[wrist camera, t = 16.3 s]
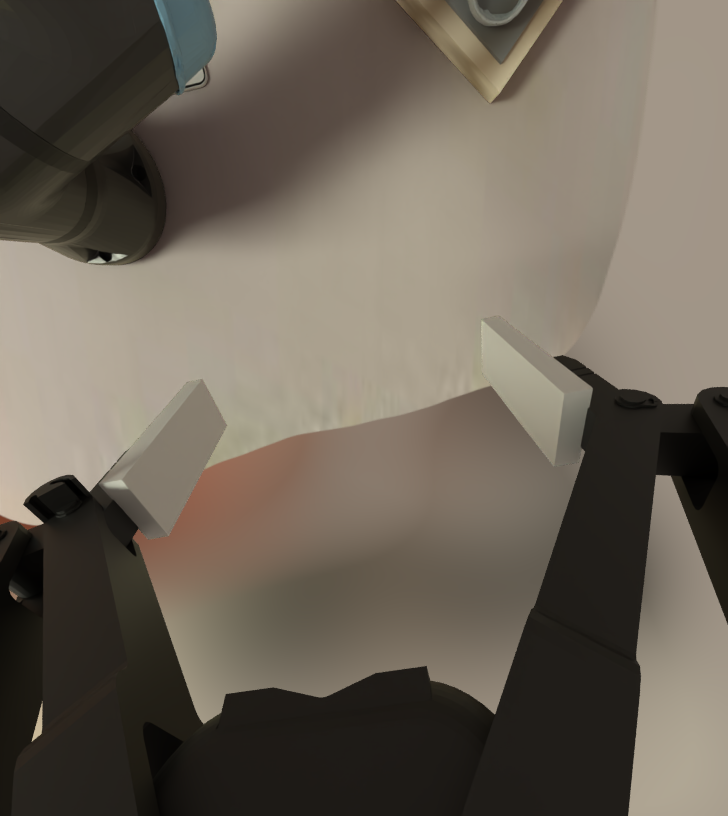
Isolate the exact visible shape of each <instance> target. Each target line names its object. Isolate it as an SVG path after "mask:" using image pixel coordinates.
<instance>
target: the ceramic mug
mask: <svg viewBox="0 0 728 816" xmlns="http://www.w3.org/2000/svg"><path fill="white" fill-rule="evenodd" d="M527 1H528V0H519V1H518V3H517V5H516V6H515V7H514V8H513V10H512V11H510V12H508V13H505V14H491V13H490V12H489V11H488V10H483V9H482V8H480V7H479V5H478V2H477V0H468V4H469V8H470V11H471V13H472V15H473V17H474V18H475V19H476V20H477V21H478V22H479V23H481V24H482V25H484V26H499V25H503V24H506V23H508V22H510V21H511V20H512V19H513V18H515V17H516V16H517V15H518V14H519V13H520V11H521V10H522V9H523V7H524V6H525V4H526V3H527Z"/></svg>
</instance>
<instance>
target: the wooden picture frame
mask: <svg viewBox="0 0 728 816" xmlns="http://www.w3.org/2000/svg"><path fill="white" fill-rule="evenodd" d="M396 1H397V3H398V4H399V5H400V6H401V7H402V8H403V9H404V10H405V11H406V12H407V14H408V15H409V16H410V17H411V18H412V19H413V20H414V21H415V22H416V23H417V25H418V26H419V27H420V28H421V29H422V30H423V31H424V32H425V33H426V34H427V35H428V37H429V38H430V39H431V40H432V41H433V42H434V43H435V44H436V45H437V46H438V48H439V49H440V50H441V51H442V52H443V53H444V54H445V55H446V56H447V57H448V59H449V60H450V61H451V62H452V63H453V64H454V65H455V66H456V67H457V68H458V70H459V71H460V72H461V73H462V74H463V75H464V76H465V77H466V78H467V79H468V81H469V82H470V83H471V84H472V85H473V86H474V87H475V88H476V89H477V90H478V91H479V93H480V94H481V95H482V96H483V97H484V98H485V99H486V100H487V101H488V102H489V104H490V103H491V102H492V101H493V100H494V99H495V98H496V97H497V95H498V94H499V93H500V92H501V91H502V89H503V88H504V86H505V85H506V83H507V82H508V80H509V79H510V77H511V76H512V74H513V73H514V71H515V70H516V69H517V67H518V66H519V64H520V63H521V61H522V60H523V58H524V57H525V55H526V54H527V52H528V51H529V49H530V48H531V47H532V45H533V44H534V42H535V41H536V39H537V38H538V36H539V35H540V33H541V32H542V30H543V29H544V27H545V26H546V25H547V23H548V22H549V20H550V19H551V17H552V16H553V14H554V13H555V11H556V10H557V8H558V7H559V5H560V4H561V3H562V1H563V0H528V1H527V3H526V4H525V6H524V7H523V9H522V10H521V11H520V13H519V14H518V15H517V16H516V17H515V18H513V19H512V20H511V21H510V22H508V23H506V24H503V25H499V26H484V25H482V24H481V23H479V22H478V21H477V20H476V19H475V18H474V17H473V15H472V13H471V11H470V8H469V4H468V0H396ZM518 1H519V0H477V2H478V5H479V7H480V8H482V9H483V10H488V11H489V12H490V13H491V14H505V13H508V12H510V11H512V10H513V8H514V7H515V6H516V5H517V3H518Z"/></svg>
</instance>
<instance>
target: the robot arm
mask: <svg viewBox="0 0 728 816" xmlns="http://www.w3.org/2000/svg"><path fill="white" fill-rule="evenodd" d="M216 40H217V33H216V24H215V19H214V15H213V12H212V8H211V5H210V2H209V0H0V240H6V241H19V242H31V243H39V244H41V245H43V246H45V247H48V248H50V249H52V250H54V251H56V252H58V253H60V254H62V255H64V256H66V257H69V258H71V259H74V260H77V261H80V262H84V263H89V264H95V265H122V264H127V263H131V262H134V261H136V260H138V259H140V258H142V257H143V256H144V255H146V254H147V253H148V252H149V251H150V250H151V249H152V248H153V247H154V246H155V244H156V243H157V241H158V240H159V238H160V236H161V233H162V230H163V227H164V223H165V217H166V198H165V192H164V187H163V183H162V180H161V177H160V174H159V171H158V169H157V167H156V165H155V163H154V161H153V159H152V157H151V155H150V154H149V152H148V151H147V149H146V148H145V146H144V145H143V144H142V142H141V141H140V140H139V139H138V137H137V136H136V135H135V134H134V133H133V132H132V131H131V130H132V129H133V128H134V127H135V126H136V125H137V124H139V123H140V122H141V121H142V120H143V119H145V118H146V117H147V116H148V115H149V114H150V113H152V112H153V111H154V110H155V109H156V108H158V107H159V106H160V105H161V104H162V103H163V102H165V101H166V100H167V99H168V98H169V97H170V96H172V95H173V94H174V93H176V94H177V95H181V94H182V93H183V92H184V90H185V86H186V83H187V82H188V81H190V80H191V79H192V78H193V77H194V76H195V75H196V74H197V73H198V72H199V71H200V70H201V69H202V68H203V67H204V66H205V65H206V64H207V63H208V62H209V61H210V60H211V58H212V57H213V55H214V53H215V49H216ZM481 331H482V374H483V376H484V377H485V378H486V379H487V381H488V382H489V383H490V385H491V386H492V387H493V388H494V390H495V391H496V392H497V394H498V395H499V396H500V398H501V399H502V400H503V401H504V403H505V404H506V405H507V407H508V408H509V409H510V410H511V412H512V413H513V414H514V415H515V417H516V418H517V419H518V421H519V422H520V423H521V425H522V426H523V427H524V429H525V430H526V431H527V433H528V434H529V435H530V436H531V438H532V439H533V440H534V441H535V443H536V444H537V445H538V447H539V448H540V449H541V451H542V452H543V453H544V454H545V456H546V457H547V458H548V460H549V461H550V462H551V464H552V465H553V466H554V467H557V466H562V465H568V464H574V463H579V459H580V453H581V449H584V451H585V454H584V457H583V460H582V463H581V466H580V469H579V472H578V475H577V478H576V481H575V484H574V488H573V491H572V494H571V497H570V500H569V503H568V506H567V509H566V512H565V515H564V518H563V521H562V524H561V527H560V531H559V533H558V537H557V540H556V543H555V546H554V549H553V552H552V555H551V558H550V561H549V564H548V567H547V570H546V573H545V577H544V579H543V583H542V586H541V589H540V592H539V595H538V598H537V601H536V604H535V606H534V608H533V609H531V612H530V614H529V616H528V619H527V621H526V624H525V627H524V630H523V633H522V636H521V639H520V642H519V645H518V648H517V651H516V654H515V657H514V660H513V663H512V666H511V669H510V672H509V675H508V678H507V681H506V684H505V687H504V690H503V693H502V696H501V699H500V702H499V705H498V708H497V711H496V714H493V713H492V712H491V711H490V710H489V709H488V708H486V707H485V706H484V705H483V704H482V703H480V702H479V701H477V700H476V699H474V698H473V697H472V696H470V695H469V694H467V693H465V692H463V691H461V690H459V689H457V688H455V687H452V686H449V685H447V684H444V683H440V682H435V681H430V678H429V675H428V670H427V666H425V667H418V668H410V669H402V670H396V671H389V672H382V673H375V674H373V675H371V676H369V677H367V678H365V679H363V680H361V681H359V682H356V683H354V684H352V685H350V686H348V687H346V688H344V689H342V690H340V691H338V692H336V693H333V694H332V695H330V696H327V697H323V698H319V697H314V696H309V695H305V694H300V693H296V692H291V691H287V690H282V689H278V688H267V689H259V690H252V691H245V692H238V693H231V694H226V696H225V700H224V704H223V708H222V712H221V713H220V714H219V715H217V716H215V717H214V718H213V719H211V720H209V721H208V722H206V723H205V724H203V723H202V722H201V720H200V719H199V717H198V715H197V713H196V710H195V708H194V705H193V702H192V699H191V696H190V693H189V690H188V688H187V685H186V682H185V679H184V676H183V673H182V670H181V667H180V664H179V661H178V658H177V656H176V652H175V650H174V647H173V644H172V641H171V638H170V635H169V632H168V629H167V626H166V623H165V621H164V618H163V615H162V612H161V609H160V606H159V603H158V600H157V597H156V594H155V592H154V589H153V586H152V583H151V580H150V577H149V574H148V571H147V568H146V565H145V562H144V559H143V557H142V554H141V551H140V548H139V545H138V544H137V543H136V542H135V541H134V540H133V536H134V535H135V533H136V531H137V530H138V529H139V530H140V531H141V532H142V533H143V534H144V535H145V537H146V538H147V539H154V538H160V537H165V536H169V534H170V532H171V530H172V528H173V527H174V525H175V523H176V521H177V519H178V517H179V515H180V513H181V511H182V510H183V508H184V506H185V504H186V502H187V500H188V498H189V496H190V495H191V493H192V491H193V489H194V487H195V485H196V483H197V481H198V479H199V477H200V476H201V474H202V472H203V470H204V468H205V466H206V464H207V462H208V460H209V459H210V457H211V455H212V453H213V451H214V449H215V447H216V445H217V443H218V442H219V440H220V438H221V436H222V434H223V432H224V430H225V428H226V426H227V424H226V423H225V421H224V419H223V417H222V415H221V413H220V411H219V409H218V407H217V406H216V404H215V402H214V400H213V398H212V396H211V394H210V392H209V391H208V389H207V387H206V385H205V383H204V381H203V379H200V380H195V381H191V382H187V383H186V384H185V385H184V386H183V388H182V389H181V390H180V391H179V392H178V393H177V394H176V396H175V397H174V398H173V399H172V400H171V401H170V402H169V404H168V405H167V406H166V407H165V408H164V409H163V410H162V412H161V413H160V414H159V415H158V416H157V417H156V419H155V420H154V421H153V422H152V423H151V424H150V425H149V427H148V428H147V429H146V430H145V431H144V432H143V433H142V435H141V436H140V437H139V438H138V439H137V440H136V442H135V443H134V444H133V445H132V446H131V447H130V448H129V449H128V450H127V451H125V453H124V454H123V455H122V456H121V457H120V458H119V459H118V461H117V463H115V464H114V465H113V466H112V467H111V470H109V471H108V472H107V473H106V474H105V475H104V476H103V478H102V479H101V480H100V481H99V482H98V483H97V484H96V486H95V487H94V488H93V489H92V490H91V491H90V492H89V491H88V490H87V489H86V488H85V487H84V486H83V485H82V484H81V483H80V482H79V481H78V480H77V479H76V478H75V477H74V475H65V476H61V477H58V478H56V479H54V480H51V481H49V482H47V483H46V484H44V485H42V486H41V487H39V488H38V489H37V490H35V491H34V492H33V493H31V494H30V496H29V497H28V498H27V499H26V500H25V502H24V504H23V505H24V506H25V507H27V508H28V509H29V510H30V511H31V512H32V513H33V514H34V515H36V516H37V517H38V518H39V519H40V520H41V521H42V522H43V523H44V524H42V525H39V526H37V527H34V528H32V529H29V530H27V529H25V528H24V527H23V526H22V525H21V524H20V523H18V522H17V521H11V522H7V523H4V524H1V525H0V816H628V811H629V800H630V790H631V780H632V769H633V758H634V749H635V738H636V728H637V717H638V707H639V696H640V682H641V673H640V666H639V664H638V662H637V661H636V648H637V639H638V629H639V621H640V612H641V603H642V594H643V585H644V575H645V567H646V558H647V549H648V540H649V531H650V521H651V513H652V504H653V495H654V486H655V477H656V475H668V476H671V477H672V480H673V482H674V485H675V488H676V490H677V493H678V495H679V498H680V501H681V503H682V506H683V508H684V511H685V514H686V516H687V519H688V522H689V524H690V527H691V529H692V532H693V535H694V537H695V540H696V542H697V545H698V548H699V550H700V553H701V556H702V558H703V561H704V563H705V566H706V569H707V571H708V574H709V577H710V579H711V582H712V584H713V587H714V590H715V592H716V595H717V597H718V600H719V603H720V605H721V608H722V611H723V613H724V616H725V618H726V621H727V623H728V387H714V388H708V389H704V390H702V391H701V392H700V393H699V394H698V395H697V397H696V400H695V402H694V404H662V401H661V400H660V399H658V398H657V397H656V396H654V395H651V394H649V393H647V392H642V391H638V390H630V389H629V390H628V389H621V390H618V389H617V388H615V387H614V386H613V385H611V384H610V383H608V382H607V381H606V380H604V379H603V378H601V377H600V376H599V375H597V374H594V372H593V371H591V370H590V369H589V368H586V366H584V365H583V364H582V363H580V362H579V361H577V360H575V359H572V358H569V357H566V356H563V355H562V356H557V357H552V356H551V355H549V354H548V353H547V352H545V351H544V350H543V349H541V348H540V347H539V346H538V345H536V344H535V343H534V342H532V341H531V340H530V339H528V338H527V337H526V336H525V335H523V334H522V333H521V332H519V331H518V330H517V329H515V328H514V327H513V326H512V325H510V324H509V323H508V322H506V321H505V320H504V319H503V318H501V317H500V316H494V317H490V318H485V319H481ZM9 590H10V591H11V592H13V593H15V594H16V595H17V596H18V597H17V600H15V599H14V598H13V597H12V596H11V594H10V591H9ZM42 700H43V715H42V717H43V718H42V720H43V721H42V725H43V726H42V734H41V735H40V736H38V737H37V738H36V739H35V740H34V741H32V738H33V734H34V730H35V726H36V723H37V719H38V715H39V711H40V707H41V704H42ZM31 741H32V742H31Z"/></svg>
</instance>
